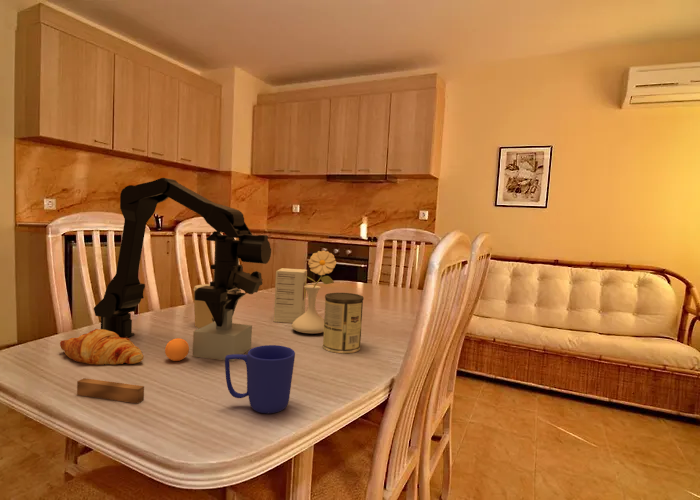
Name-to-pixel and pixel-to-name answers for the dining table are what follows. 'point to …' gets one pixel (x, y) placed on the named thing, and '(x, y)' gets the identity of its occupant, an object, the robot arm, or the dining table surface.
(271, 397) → the mug
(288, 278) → the supplement box
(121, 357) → the croissant
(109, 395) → the walnut strip
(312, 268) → the flower in vase
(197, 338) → the cover
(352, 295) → the coffee can
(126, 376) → the dining table surface
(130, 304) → the robot arm
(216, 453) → the dining table surface
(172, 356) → the ball
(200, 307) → the coffee cup
